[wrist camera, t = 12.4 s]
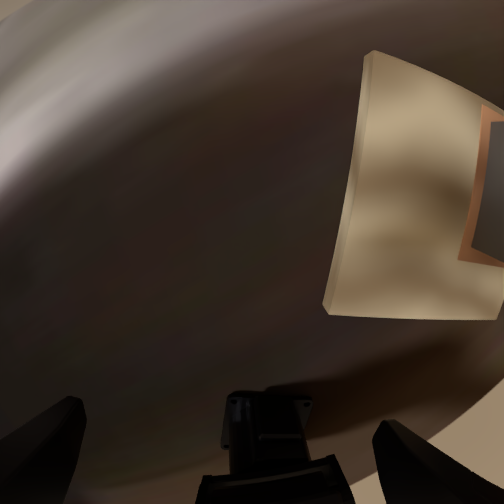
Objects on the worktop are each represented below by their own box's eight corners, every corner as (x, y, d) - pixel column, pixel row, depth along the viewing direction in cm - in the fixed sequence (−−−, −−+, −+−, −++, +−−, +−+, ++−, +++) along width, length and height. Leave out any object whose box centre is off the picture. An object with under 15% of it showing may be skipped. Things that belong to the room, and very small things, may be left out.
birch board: (486, 312, 22) (496, 320, 20) (322, 304, 20) (329, 315, 19) (524, 131, 18) (537, 132, 16) (364, 56, 16) (374, 49, 14)
